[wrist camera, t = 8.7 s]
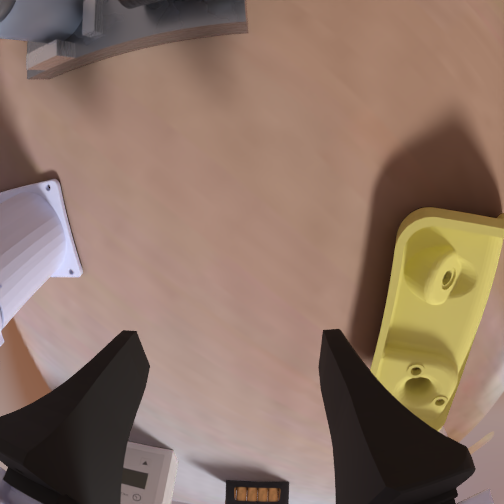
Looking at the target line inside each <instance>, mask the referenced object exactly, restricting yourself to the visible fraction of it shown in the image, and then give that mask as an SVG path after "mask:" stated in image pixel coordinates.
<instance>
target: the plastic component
mask: <svg viewBox="0 0 504 504" xmlns="http://www.w3.org/2000/svg"><path fill="white" fill-rule="evenodd" d="M503 238H504V213H502V214H500V215H499V216H498V217H497V218H492V217H486V216H481V215H476V214H470V213H464V212H458V211H452V210H446V209H440V208H433V207H425V208H420V209H418V210H415V211H413V212H412V213H410V214H409V215H408V216H407V217H406V218H405V219H404V220H403V221H402V223H401V224H400V227H399V229H398V232H397V236H396V244H395V251H394V258H393V265H392V272H391V278H390V284H389V290H388V295H387V300H386V306H385V311H384V315H383V320H382V325H381V329H380V334H379V338H378V342H377V346H376V350H375V354H374V358H373V361H372V365H371V369H370V371H371V372H372V373H373V375H374V376H375V377H376V378H377V379H378V380H379V381H380V383H381V384H382V385H383V386H384V387H385V388H386V389H387V390H388V391H389V392H390V393H391V394H392V395H393V396H394V397H395V398H396V399H397V400H398V401H399V402H400V403H401V404H403V405H404V406H405V407H406V408H407V409H408V410H409V411H411V412H412V413H413V414H414V415H416V416H417V417H418V418H420V419H421V420H422V421H424V422H425V423H427V424H428V425H429V426H431V427H432V428H434V429H435V430H437V431H438V432H439V431H440V429H441V428H442V426H443V425H444V423H445V421H446V418H447V415H448V413H449V410H450V407H451V404H452V402H453V399H454V396H455V393H456V390H457V387H458V385H459V382H460V379H461V376H462V373H463V370H464V367H465V364H466V361H467V358H468V355H469V352H470V349H471V346H472V343H473V340H474V337H475V334H476V331H477V328H478V326H479V323H480V320H481V317H482V315H483V312H484V309H485V306H486V303H487V300H488V297H489V293H490V290H491V287H492V283H493V280H494V276H495V272H496V269H497V265H498V261H499V256H500V252H501V248H502V243H503ZM445 274H446V275H445ZM444 275H445V277H444ZM443 278H444V279H443ZM438 399H441V400H440V401H439V400H438Z"/></svg>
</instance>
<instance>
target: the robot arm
mask: <svg viewBox="0 0 504 504" xmlns="http://www.w3.org/2000/svg"><path fill="white" fill-rule="evenodd" d="M48 185H50V189H49V187H48ZM72 270H73V272H72ZM82 273H83V270H82V267H81V264H80V261H79V257H78V254H77V251H76V247H75V244H74V240H73V237H72V233H71V229H70V226H69V222H68V218H67V214H66V210H65V205H64V201H63V196H62V192H61V187H60V183H59V181H58V180H57V179H51V180H47V181H42V182H38V183H34V184H30V185H26V186H22V187H18V188H14V189H11V190H7V191H3V192H0V346H1V345H2V344H3V343H4V339H3V337H2V333H1V330H2V329H3V328H4V326H5V325H6V324H7V323H8V322H9V321H10V320H11V318H12V317H13V316H14V315H15V314H16V313H17V312H18V310H19V309H20V308H21V307H22V306H23V305H24V304H25V303H26V302H27V301H28V299H29V298H30V297H31V296H32V295H33V294H34V293H35V292H36V291H37V290H38V289H39V288H40V287H41V286H42V285H43V284H44V283H45V282H46V280H47V279H48V278H49V277H80V276H81V275H82ZM149 368H150V365H149V362H148V360H147V357H146V355H145V352H144V350H143V347H142V345H141V342H140V339H139V337H138V334H137V331H126V330H123V331H122V332H121V333H120V334H119V335H117V336H116V337H115V338H114V339H113V340H112V341H111V342H110V343H109V344H108V345H107V346H106V347H105V348H103V349H102V350H101V351H100V352H99V353H98V354H97V355H96V356H95V357H94V358H93V359H92V360H91V361H89V362H88V363H87V364H86V365H85V366H84V367H83V368H81V369H80V370H79V371H78V372H77V373H76V374H74V375H73V376H72V377H71V378H70V379H68V380H67V381H66V382H64V383H63V384H62V385H60V386H59V387H57V388H56V389H55V390H53V391H52V392H50V393H49V394H47V395H45V396H44V397H42V398H40V399H38V400H37V401H35V402H33V403H32V404H29V405H27V406H25V407H23V408H21V409H19V410H17V411H14V412H12V413H9V414H6V415H4V416H1V417H0V461H1V462H3V463H4V464H5V465H6V466H8V469H7V471H5V470H3V469H2V468H1V467H0V504H121V484H122V473H123V466H124V459H125V453H126V448H127V443H128V438H129V434H130V431H131V428H132V425H133V422H134V419H135V416H136V413H137V410H138V408H139V405H140V402H141V399H142V396H143V393H144V390H145V387H146V383H147V378H148V373H149ZM319 376H320V385H321V392H322V397H323V401H324V406H325V411H326V415H327V420H328V424H329V429H330V434H331V439H332V445H333V456H334V469H335V488H336V504H456V503H455V500H454V498H456V497H457V496H458V493H457V490H456V487H458V486H459V485H460V484H462V483H463V482H464V481H466V480H467V479H468V478H469V477H470V476H471V475H472V474H473V473H474V471H475V466H474V463H473V460H472V457H471V455H470V453H469V451H468V448H467V447H466V446H464V445H462V444H460V443H458V442H456V441H454V440H452V439H451V438H449V437H447V436H445V435H443V434H442V433H440V432H438V431H437V430H435V429H434V428H432V427H431V426H429V425H428V424H427V423H425V422H424V421H422V420H421V419H420V418H418V417H417V416H416V415H414V414H413V413H412V412H411V411H409V410H408V409H407V408H406V407H405V406H404V405H403V404H401V403H400V402H399V401H398V400H397V399H396V398H395V397H394V396H393V395H392V394H391V393H390V392H389V391H388V390H387V389H386V388H385V387H384V386H383V385H382V384H381V383H380V381H379V380H378V379H377V378H376V377H375V376H374V375H373V373H372V372H371V371H370V370H369V369H368V367H367V366H366V365H365V363H364V362H363V361H362V360H361V358H360V357H359V356H358V354H357V353H356V352H355V350H354V349H353V348H352V346H351V345H350V343H349V342H348V340H347V339H346V337H345V336H344V334H343V333H342V331H341V330H340V329H332V330H323V335H322V344H321V352H320V360H319ZM457 504H494V502H493V498H492V495H491V492H490V489H485V490H483V491H482V492H480V493H478V494H476V495H473V496H471V497H469V498H467V499H465V500H463V501H461V502H459V503H457Z"/></svg>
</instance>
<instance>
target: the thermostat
mask: <svg viewBox="0 0 504 504" xmlns="http://www.w3.org/2000/svg"><path fill="white" fill-rule="evenodd" d="M178 463H179V462H178V459H177V457H176V455H175V453H174V451H173V450H169V449H163V448H158V447H152V446H147V445H143V444H138V443H134V442H129V441H128V443H127V448H126V453H125V459H124V466H123V473H122V484H121V504H171V500H172V495H173V489H174V484H175V479H176V473H177V468H178Z"/></svg>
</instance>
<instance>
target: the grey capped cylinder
mask: <svg viewBox="0 0 504 504" xmlns="http://www.w3.org/2000/svg"><path fill="white" fill-rule="evenodd" d="M83 1H84V0H0V38H1V39H13V40H23V41H31V42H39V43H45V44H48V43H50V42H52V41H54V40H56V39H57V40H62V41H64V40H66V39H67V38H68V37H70V36H71V35H72V34H73V33H74V32H75V30H76V29H77V28H78V26H79V25H80V23H81V21H82V18H83Z"/></svg>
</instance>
